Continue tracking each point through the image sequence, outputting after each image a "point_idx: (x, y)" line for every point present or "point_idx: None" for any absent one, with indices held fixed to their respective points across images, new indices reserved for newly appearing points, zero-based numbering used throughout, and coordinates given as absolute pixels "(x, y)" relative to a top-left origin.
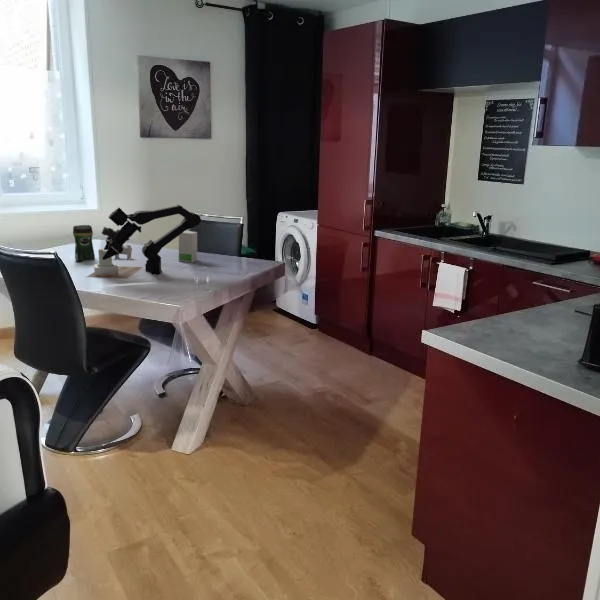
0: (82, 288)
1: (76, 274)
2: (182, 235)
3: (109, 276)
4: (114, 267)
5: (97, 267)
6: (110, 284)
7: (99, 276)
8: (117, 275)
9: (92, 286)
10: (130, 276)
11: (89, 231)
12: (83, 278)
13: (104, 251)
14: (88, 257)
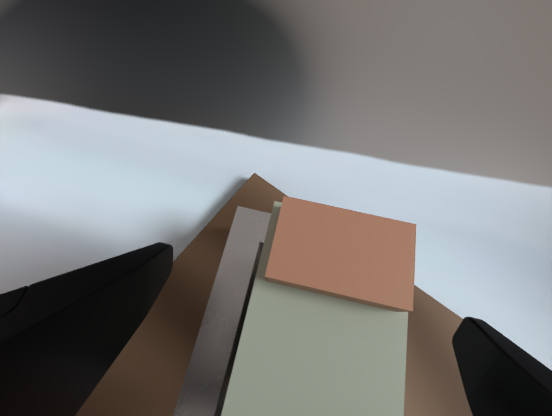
0: (55, 106)
1: (407, 166)
2: None
3: (177, 319)
4: (179, 403)
5: (232, 225)
6: (15, 264)
7: (220, 250)
8: (170, 400)
9: (56, 156)
10: None
11: None
12: (281, 170)
13: (247, 317)
14: None
